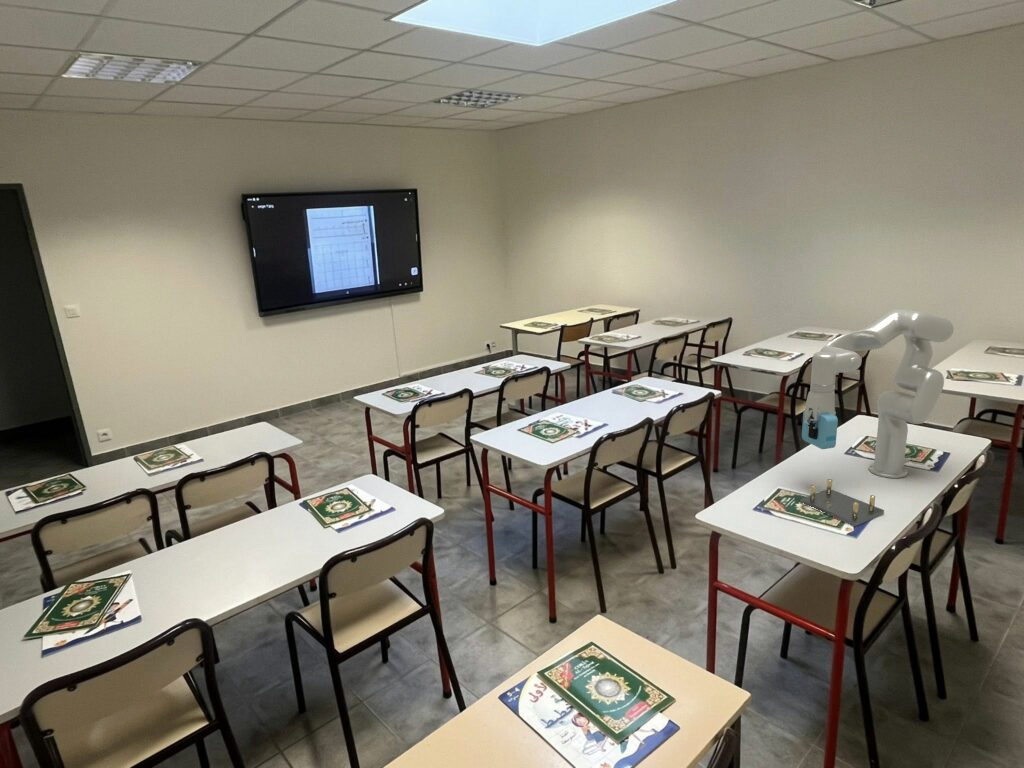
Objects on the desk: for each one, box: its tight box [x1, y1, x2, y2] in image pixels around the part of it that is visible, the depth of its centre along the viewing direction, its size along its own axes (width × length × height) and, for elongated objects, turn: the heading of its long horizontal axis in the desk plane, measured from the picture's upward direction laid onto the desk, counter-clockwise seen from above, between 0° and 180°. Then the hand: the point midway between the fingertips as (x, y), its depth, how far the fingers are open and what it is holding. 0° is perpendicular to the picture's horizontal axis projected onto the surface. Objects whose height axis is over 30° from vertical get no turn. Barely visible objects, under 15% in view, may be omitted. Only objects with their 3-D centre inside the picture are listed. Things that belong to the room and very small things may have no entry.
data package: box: [801, 409, 839, 450], centre depth 216 cm, size 12×4×12 cm, turn 13°
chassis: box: [799, 478, 885, 527], centre depth 206 cm, size 15×20×6 cm
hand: (818, 436), depth 216 cm, fingers closed on data package, 5 cm apart
